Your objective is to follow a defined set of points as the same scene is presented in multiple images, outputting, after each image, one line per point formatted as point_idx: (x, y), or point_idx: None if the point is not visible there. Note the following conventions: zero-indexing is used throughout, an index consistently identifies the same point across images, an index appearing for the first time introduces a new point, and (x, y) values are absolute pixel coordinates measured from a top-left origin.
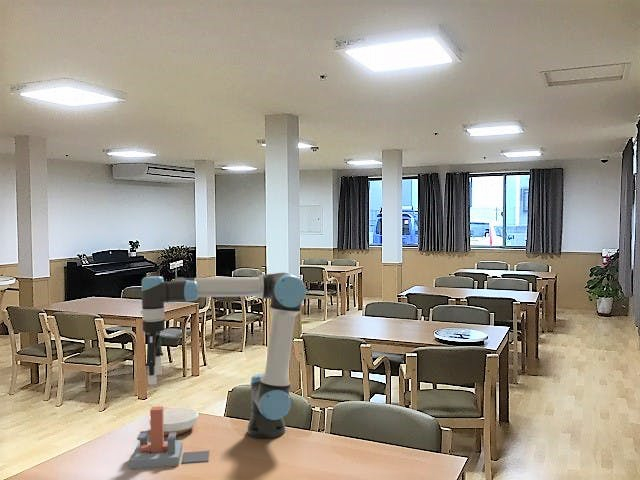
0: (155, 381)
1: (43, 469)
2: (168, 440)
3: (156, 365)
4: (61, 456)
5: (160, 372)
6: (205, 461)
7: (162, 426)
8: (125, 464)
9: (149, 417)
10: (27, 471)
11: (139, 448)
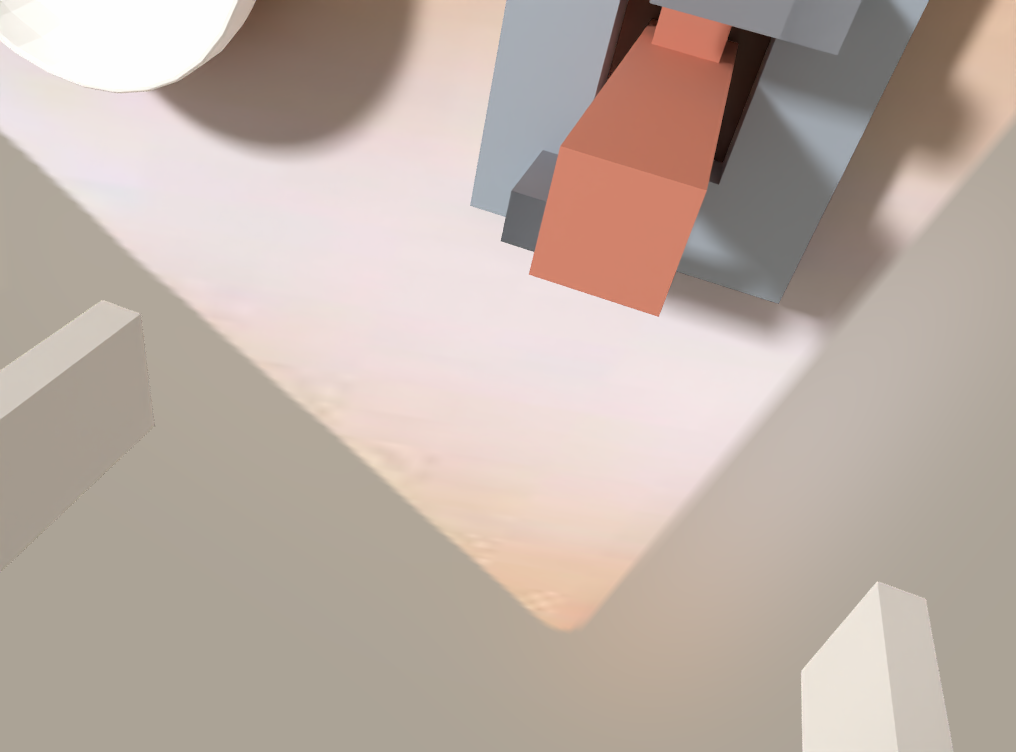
0: (929, 659)
1: (551, 583)
2: (841, 43)
3: (8, 512)
4: (425, 511)
5: (116, 347)
6: None
7: (698, 112)
8: (679, 288)
9: (91, 85)
10: (546, 623)
11: None
